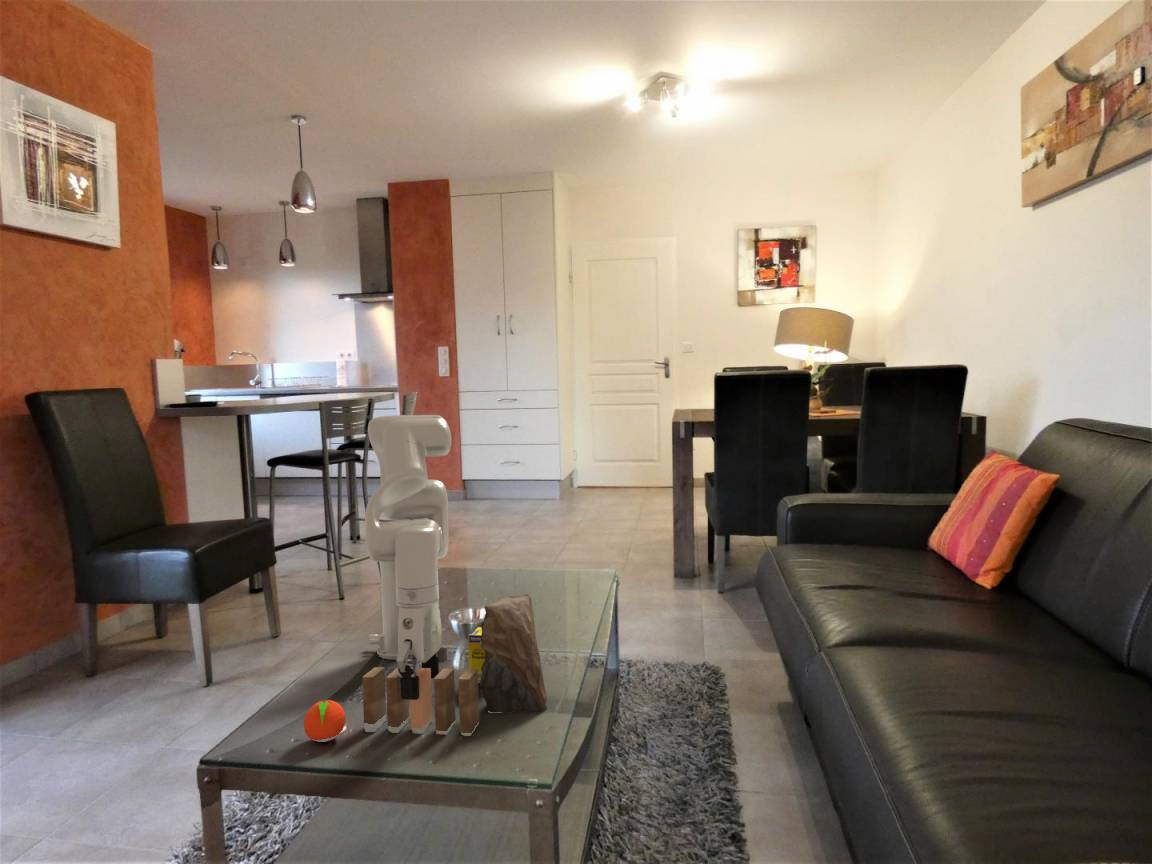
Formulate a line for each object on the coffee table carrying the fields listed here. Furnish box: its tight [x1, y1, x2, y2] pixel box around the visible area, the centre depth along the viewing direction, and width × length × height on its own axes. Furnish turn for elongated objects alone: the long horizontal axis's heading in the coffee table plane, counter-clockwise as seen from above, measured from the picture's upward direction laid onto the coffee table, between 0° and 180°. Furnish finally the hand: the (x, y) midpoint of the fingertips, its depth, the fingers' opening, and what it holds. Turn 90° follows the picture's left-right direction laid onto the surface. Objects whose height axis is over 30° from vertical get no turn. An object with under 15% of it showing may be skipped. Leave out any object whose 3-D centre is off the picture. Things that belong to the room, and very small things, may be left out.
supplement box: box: [467, 626, 485, 688], centre depth 142 cm, size 6×6×11 cm
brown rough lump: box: [480, 593, 548, 713], centre depth 132 cm, size 13×13×20 cm
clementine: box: [303, 699, 347, 740], centre depth 116 cm, size 8×7×7 cm
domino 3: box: [410, 667, 433, 729], centre depth 121 cm, size 2×5×10 cm, turn 172°
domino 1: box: [361, 666, 387, 724], centre depth 122 cm, size 2×5×10 cm, turn 172°
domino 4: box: [433, 668, 457, 731], centre depth 120 cm, size 2×5×10 cm, turn 172°
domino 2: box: [385, 667, 410, 727], centre depth 121 cm, size 2×5×10 cm, turn 172°
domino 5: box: [457, 668, 480, 733], centre depth 119 cm, size 2×5×10 cm, turn 172°
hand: (420, 687), depth 121 cm, fingers open, 9 cm apart
